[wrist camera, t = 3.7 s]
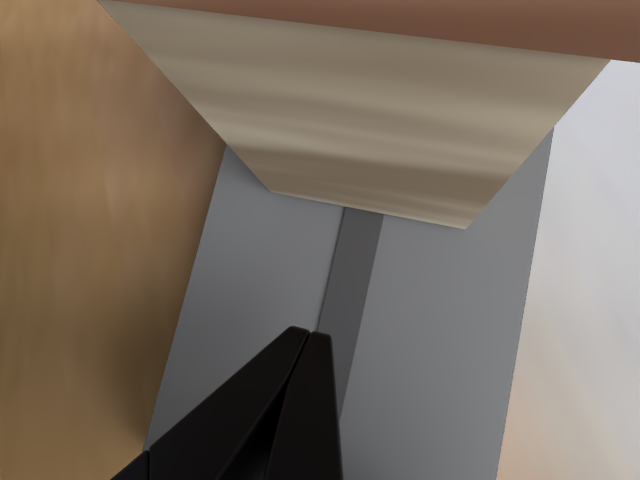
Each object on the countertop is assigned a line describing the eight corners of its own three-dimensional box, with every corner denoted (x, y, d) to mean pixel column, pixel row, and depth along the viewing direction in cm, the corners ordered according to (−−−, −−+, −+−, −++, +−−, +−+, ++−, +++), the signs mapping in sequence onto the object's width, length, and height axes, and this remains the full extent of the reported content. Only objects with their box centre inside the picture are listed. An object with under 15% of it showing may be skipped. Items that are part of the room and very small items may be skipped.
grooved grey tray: (463, 559, 14) (498, 669, 9) (165, 463, 15) (79, 518, 11) (570, -72, 17) (634, -208, 12) (312, -90, 18) (289, -214, 14)
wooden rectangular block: (471, 237, 13) (724, -15, 3) (263, 197, 14) (-13, -78, 4) (491, 128, 13) (767, -380, 4) (288, 97, 15) (90, -350, 5)
